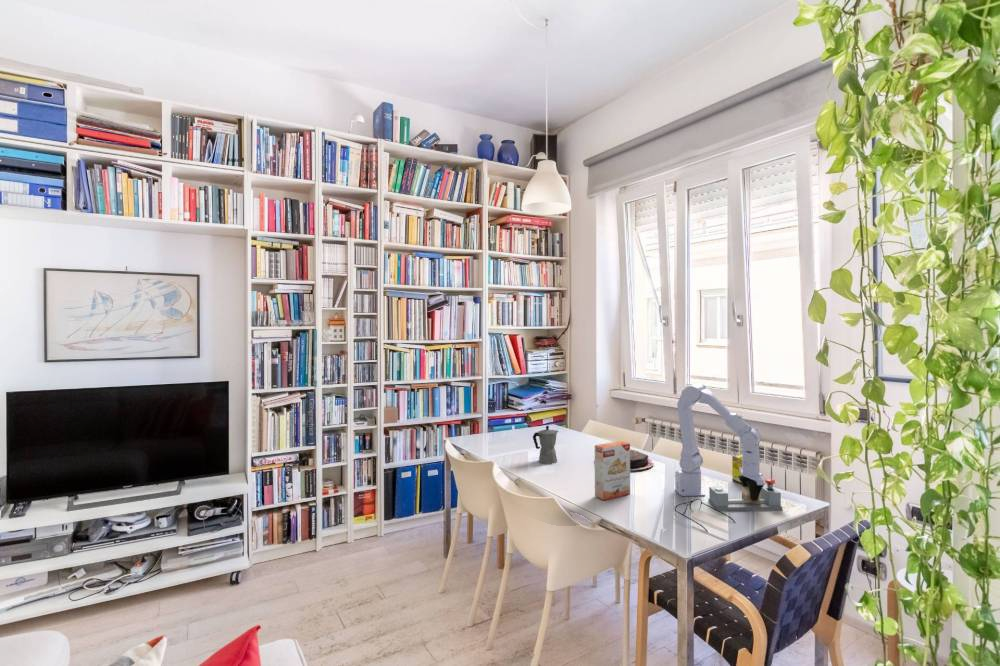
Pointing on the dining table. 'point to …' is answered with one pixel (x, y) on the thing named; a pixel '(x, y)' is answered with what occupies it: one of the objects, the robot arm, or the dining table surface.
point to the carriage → (747, 496)
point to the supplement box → (736, 468)
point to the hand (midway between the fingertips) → (751, 497)
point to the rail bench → (723, 503)
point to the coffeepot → (546, 445)
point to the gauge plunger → (770, 484)
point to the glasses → (699, 508)
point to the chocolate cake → (639, 461)
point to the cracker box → (612, 470)
